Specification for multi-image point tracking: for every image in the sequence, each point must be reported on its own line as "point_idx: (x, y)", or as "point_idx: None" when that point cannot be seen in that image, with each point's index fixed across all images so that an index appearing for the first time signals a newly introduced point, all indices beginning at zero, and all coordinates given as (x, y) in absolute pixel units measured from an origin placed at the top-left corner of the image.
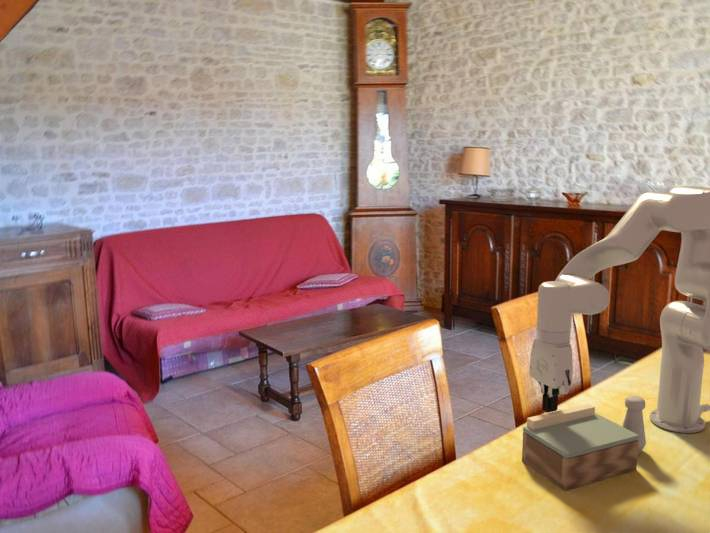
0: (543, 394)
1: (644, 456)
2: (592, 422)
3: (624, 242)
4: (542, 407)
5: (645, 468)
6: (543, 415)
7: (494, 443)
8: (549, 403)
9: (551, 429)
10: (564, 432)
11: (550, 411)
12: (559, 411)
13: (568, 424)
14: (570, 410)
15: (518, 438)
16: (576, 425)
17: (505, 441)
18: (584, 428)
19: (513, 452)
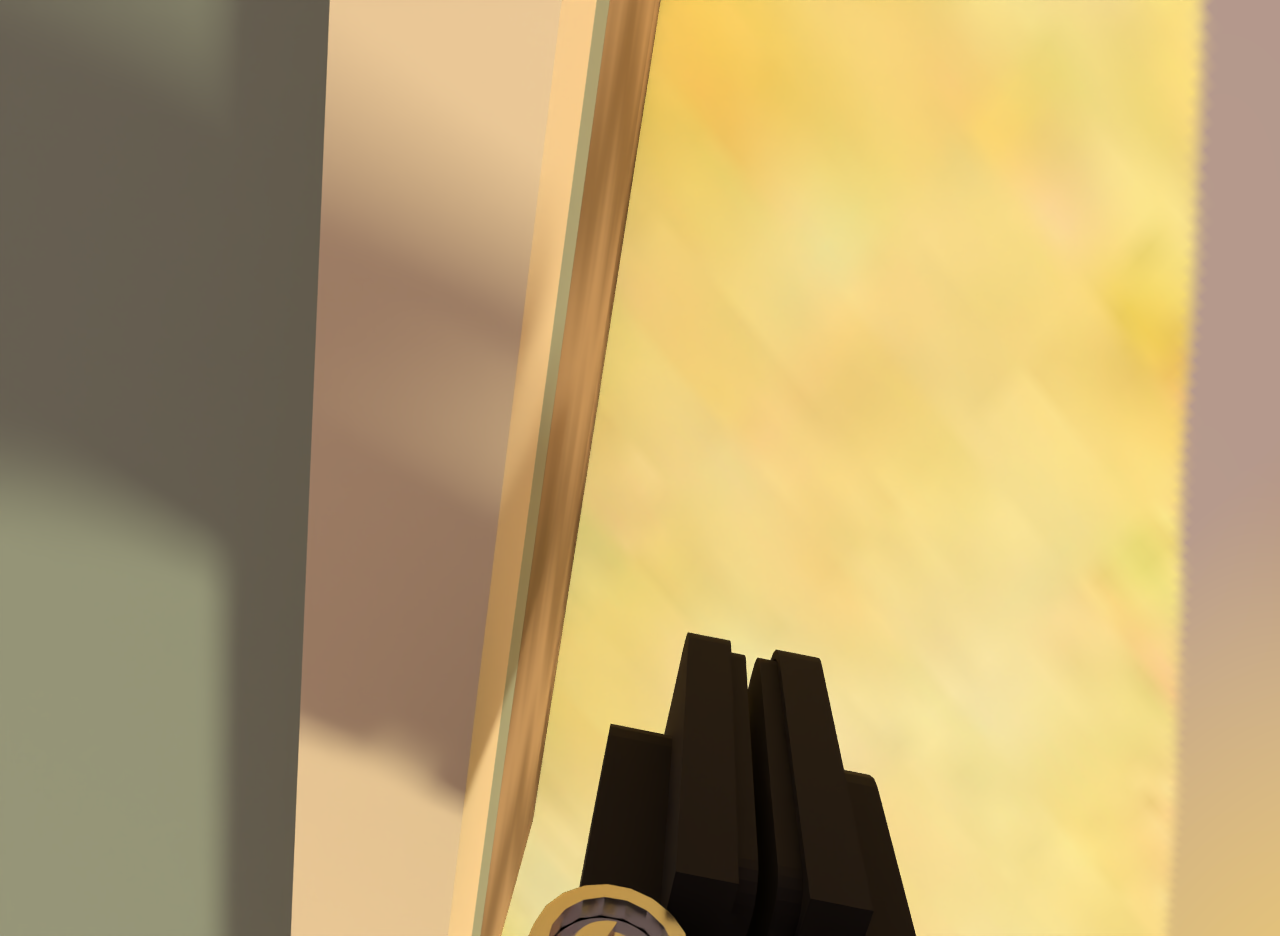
0: (858, 923)
1: None
2: (165, 906)
3: None
4: (813, 678)
5: None
6: (458, 326)
7: (1193, 22)
8: (666, 793)
9: (247, 226)
10: (59, 322)
11: (670, 708)
12: (431, 735)
13: (270, 617)
14: (364, 902)
15: (1052, 379)
16: (184, 677)
17: (1119, 190)
18: (56, 683)
19: (870, 46)
